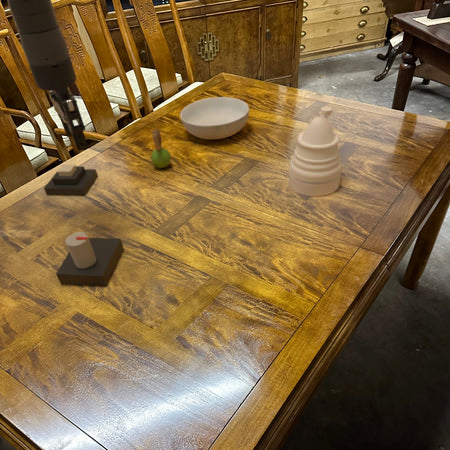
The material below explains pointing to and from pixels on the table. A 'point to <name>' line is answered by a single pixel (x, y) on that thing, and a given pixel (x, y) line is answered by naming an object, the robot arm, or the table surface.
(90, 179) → the key block
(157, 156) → the green ball with handle
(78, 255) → the volume knob
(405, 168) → the table surface
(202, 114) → the serving bowl
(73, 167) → the key
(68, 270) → the panel
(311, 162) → the honey pot
